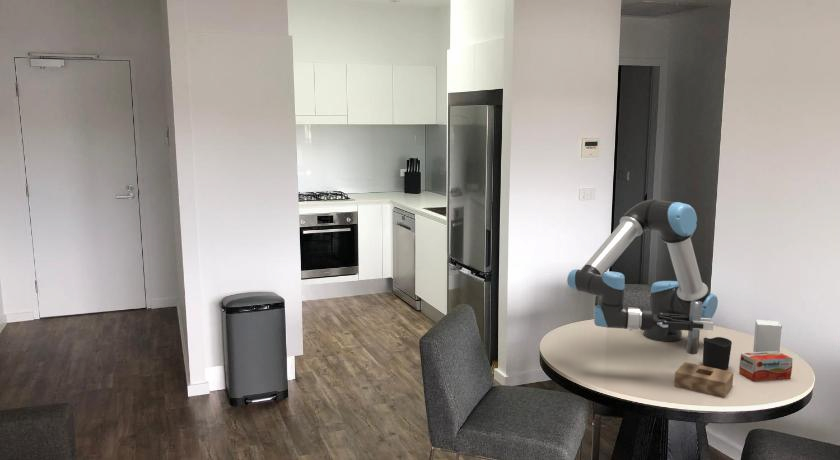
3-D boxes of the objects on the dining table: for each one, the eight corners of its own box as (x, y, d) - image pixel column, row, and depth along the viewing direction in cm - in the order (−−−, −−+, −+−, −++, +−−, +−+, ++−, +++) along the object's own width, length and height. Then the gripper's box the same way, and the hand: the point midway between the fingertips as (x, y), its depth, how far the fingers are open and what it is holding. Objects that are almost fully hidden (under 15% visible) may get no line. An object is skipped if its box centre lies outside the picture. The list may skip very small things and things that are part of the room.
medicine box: (775, 371, 248) (777, 350, 246) (791, 379, 240) (793, 357, 238) (738, 373, 245) (740, 352, 243) (753, 382, 237) (755, 360, 235)
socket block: (674, 385, 232) (675, 371, 231) (683, 375, 242) (684, 361, 241) (724, 397, 223) (725, 383, 222) (732, 386, 233) (733, 372, 232)
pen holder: (727, 373, 245) (729, 346, 243) (699, 367, 250) (701, 341, 248) (731, 365, 253) (733, 339, 251) (704, 360, 257) (706, 334, 256)
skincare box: (775, 360, 258) (780, 321, 255) (778, 366, 252) (783, 326, 249) (751, 358, 260) (755, 318, 258) (753, 363, 254) (757, 323, 252)
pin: (685, 352, 235) (689, 302, 232) (688, 350, 238) (692, 299, 235) (696, 355, 233) (700, 303, 230) (698, 352, 236) (703, 301, 233)
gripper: (636, 322, 246) (705, 327, 242) (641, 336, 230) (716, 342, 225) (638, 302, 245) (707, 307, 240) (643, 315, 229) (718, 320, 224)
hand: (711, 324), depth 233 cm, fingers closed on pin, 3 cm apart
